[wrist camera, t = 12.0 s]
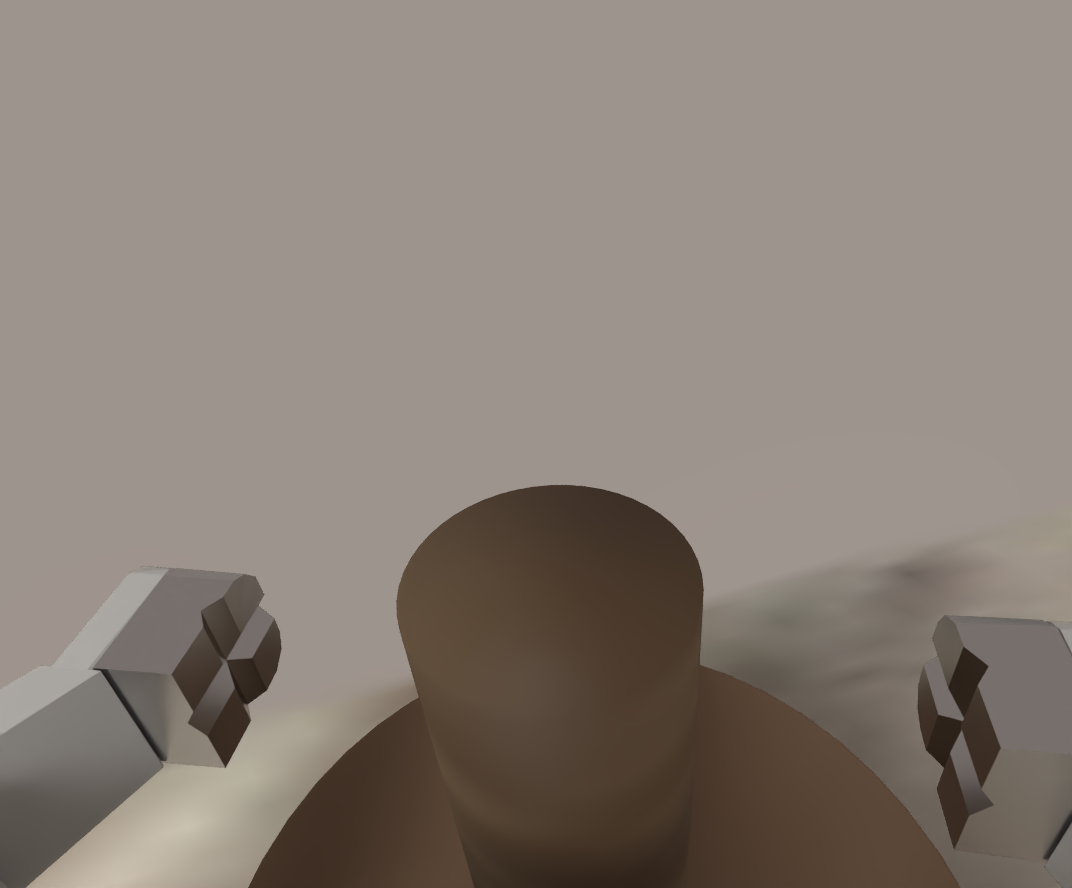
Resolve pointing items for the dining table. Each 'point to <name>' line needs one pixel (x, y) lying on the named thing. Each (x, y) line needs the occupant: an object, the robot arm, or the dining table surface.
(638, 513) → the walnut lid
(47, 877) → the dining table surface
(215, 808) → the dining table surface
